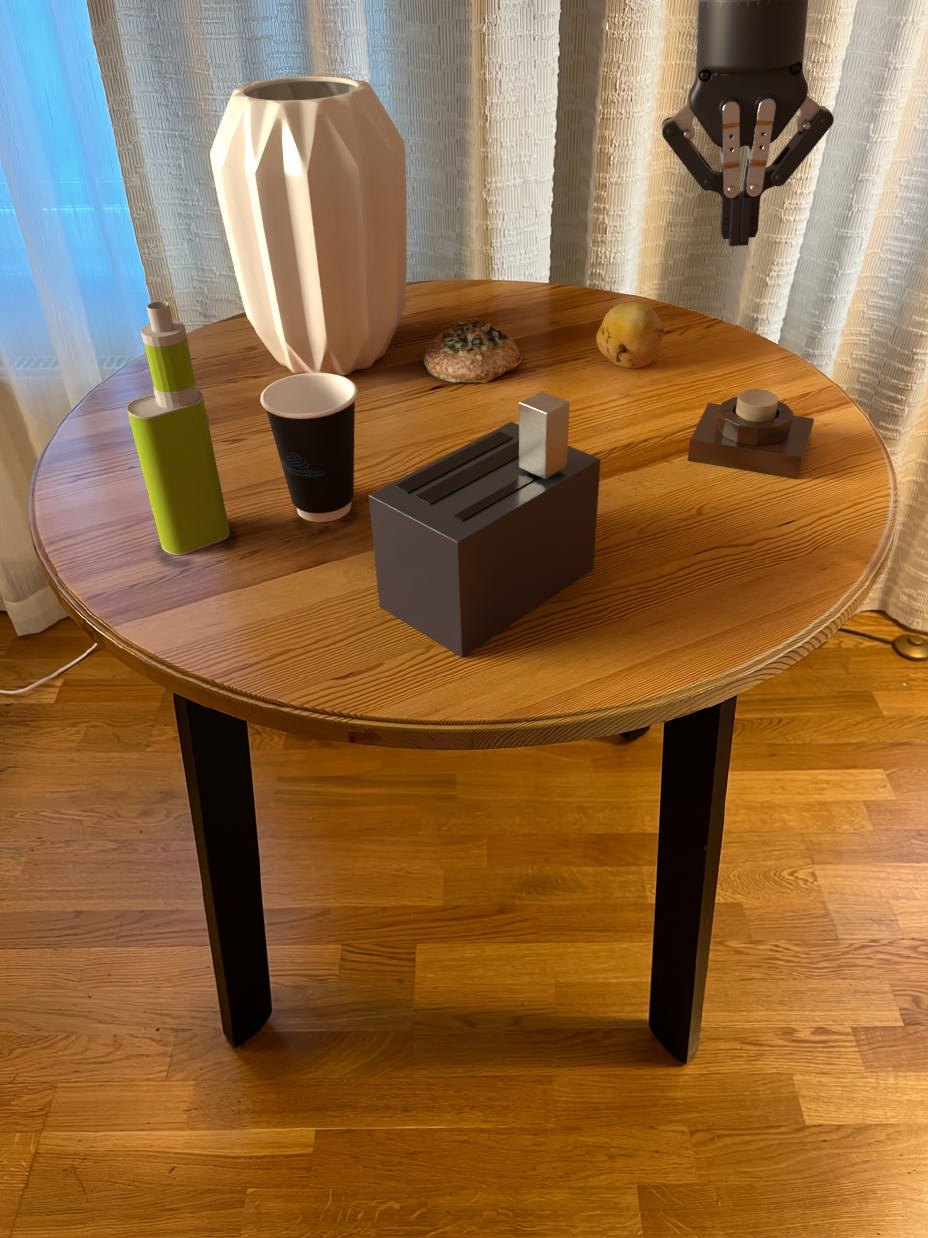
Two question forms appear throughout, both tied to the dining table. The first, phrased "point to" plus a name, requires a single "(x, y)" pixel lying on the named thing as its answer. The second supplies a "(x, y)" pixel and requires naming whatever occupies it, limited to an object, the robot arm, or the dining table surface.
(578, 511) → the toaster
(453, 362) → the bread roll
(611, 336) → the fruit
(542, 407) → the toaster slider
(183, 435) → the vape
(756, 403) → the power button
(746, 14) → the robot arm
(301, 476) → the dixie cup
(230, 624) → the dining table surface
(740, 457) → the block
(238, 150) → the vase
